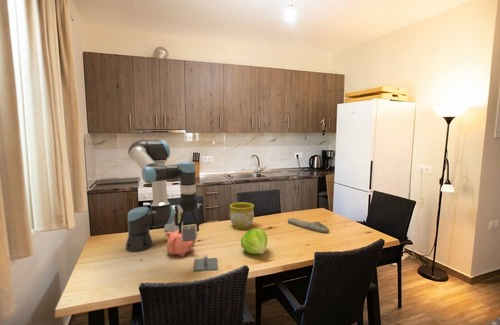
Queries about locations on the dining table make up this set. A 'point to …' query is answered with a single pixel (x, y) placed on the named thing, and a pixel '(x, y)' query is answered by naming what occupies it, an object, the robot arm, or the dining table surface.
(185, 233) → the gray cube
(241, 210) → the flowerpot
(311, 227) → the elongated rock
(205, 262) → the shaft post
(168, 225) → the supplement box
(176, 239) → the teapot
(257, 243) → the lettuce
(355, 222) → the dining table surface
